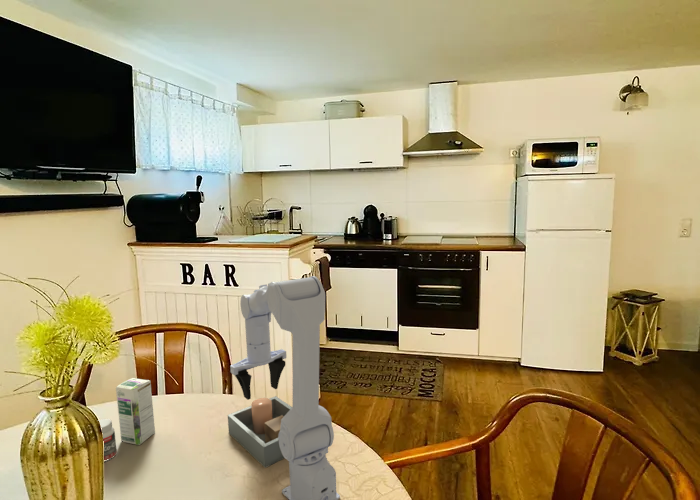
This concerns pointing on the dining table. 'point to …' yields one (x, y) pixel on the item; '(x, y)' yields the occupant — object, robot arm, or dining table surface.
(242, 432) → the box
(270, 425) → the walnut cube
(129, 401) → the syrup box
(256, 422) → the terracotta cylinder
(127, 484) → the dining table surface
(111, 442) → the pill bottle
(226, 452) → the dining table surface
